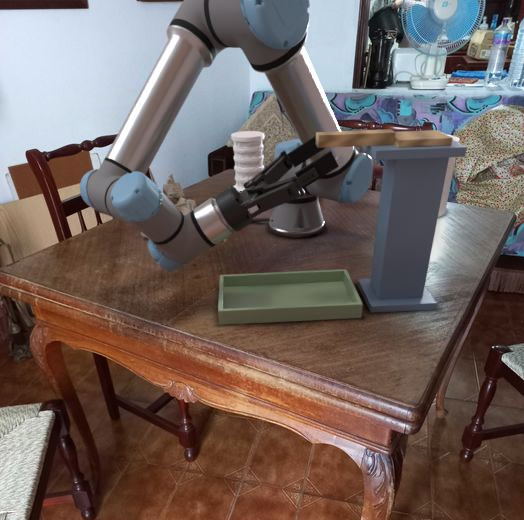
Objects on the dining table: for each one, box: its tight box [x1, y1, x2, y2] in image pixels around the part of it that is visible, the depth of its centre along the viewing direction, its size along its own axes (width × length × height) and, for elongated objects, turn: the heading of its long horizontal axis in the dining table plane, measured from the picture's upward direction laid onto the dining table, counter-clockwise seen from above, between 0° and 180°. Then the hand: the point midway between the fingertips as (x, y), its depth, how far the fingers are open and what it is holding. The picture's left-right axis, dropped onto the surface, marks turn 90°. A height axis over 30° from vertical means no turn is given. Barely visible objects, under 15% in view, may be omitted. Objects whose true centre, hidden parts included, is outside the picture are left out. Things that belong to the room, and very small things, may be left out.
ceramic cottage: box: [140, 173, 198, 239], centre depth 127 cm, size 16×16×15 cm
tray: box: [217, 268, 364, 326], centre depth 96 cm, size 28×16×3 cm, turn 93°
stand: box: [356, 140, 468, 314], centre depth 89 cm, size 15×12×30 cm
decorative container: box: [230, 130, 266, 192], centre depth 158 cm, size 12×12×18 cm
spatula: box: [316, 128, 453, 148], centre depth 80 cm, size 22×7×2 cm, turn 93°
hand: (328, 148), depth 81 cm, fingers open, 13 cm apart
